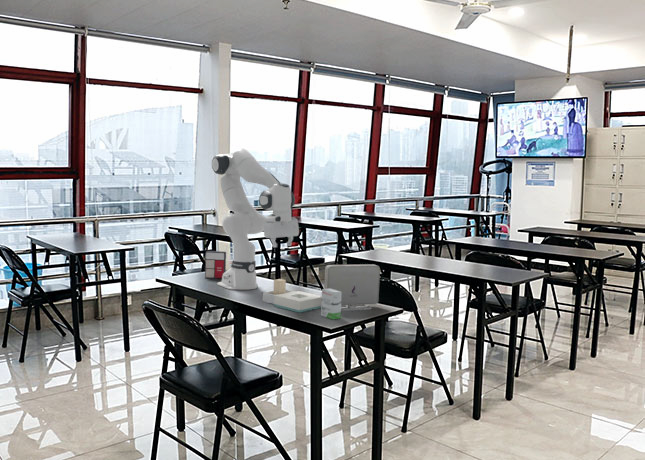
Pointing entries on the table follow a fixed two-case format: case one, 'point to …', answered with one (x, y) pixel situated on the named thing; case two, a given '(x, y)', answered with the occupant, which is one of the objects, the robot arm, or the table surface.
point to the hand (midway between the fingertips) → (282, 246)
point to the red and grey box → (215, 264)
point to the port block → (298, 301)
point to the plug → (279, 286)
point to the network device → (354, 284)
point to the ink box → (331, 303)
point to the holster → (272, 296)
